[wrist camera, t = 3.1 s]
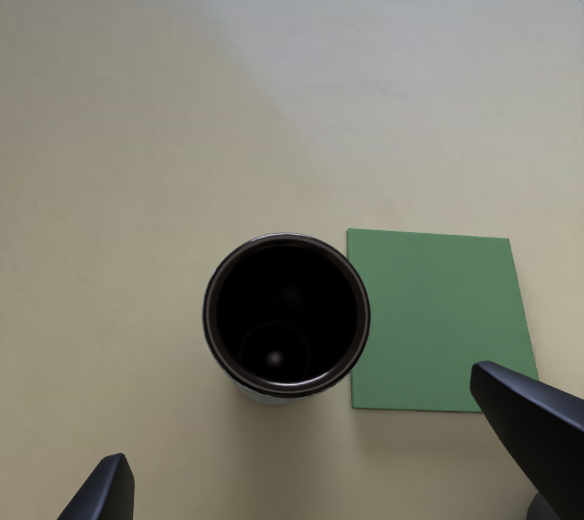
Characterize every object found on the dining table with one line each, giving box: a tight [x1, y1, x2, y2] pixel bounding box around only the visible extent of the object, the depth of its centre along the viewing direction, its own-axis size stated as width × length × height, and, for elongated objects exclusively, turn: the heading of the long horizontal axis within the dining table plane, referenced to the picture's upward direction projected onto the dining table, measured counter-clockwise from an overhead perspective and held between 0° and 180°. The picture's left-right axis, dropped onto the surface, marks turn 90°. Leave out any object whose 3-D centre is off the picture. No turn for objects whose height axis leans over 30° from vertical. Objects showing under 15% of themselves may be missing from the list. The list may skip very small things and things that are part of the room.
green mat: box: [347, 228, 539, 412], centre depth 21 cm, size 10×10×1 cm
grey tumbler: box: [202, 233, 371, 406], centre depth 15 cm, size 4×4×10 cm
